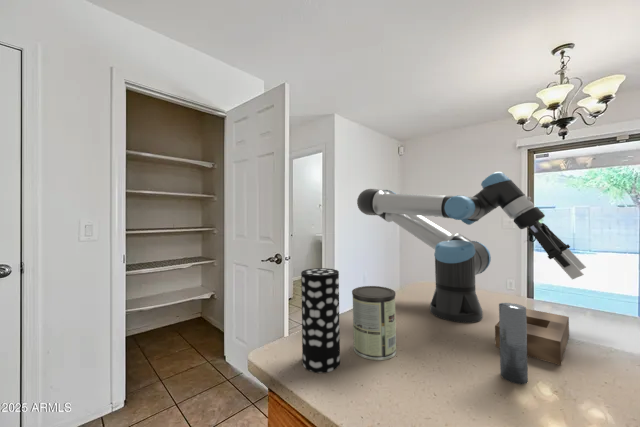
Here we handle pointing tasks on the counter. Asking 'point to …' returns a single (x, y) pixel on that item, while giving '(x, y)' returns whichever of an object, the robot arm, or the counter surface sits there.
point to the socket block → (544, 335)
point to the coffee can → (374, 322)
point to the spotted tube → (320, 319)
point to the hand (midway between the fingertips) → (579, 273)
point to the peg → (513, 343)
